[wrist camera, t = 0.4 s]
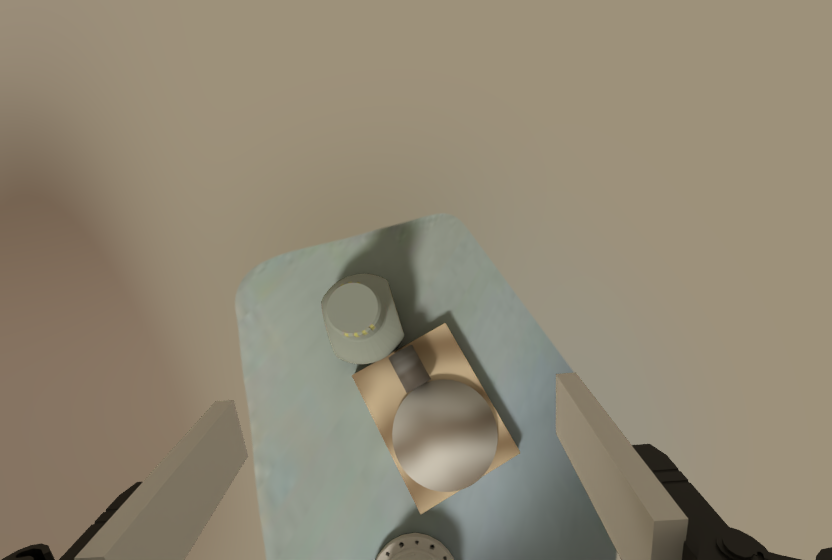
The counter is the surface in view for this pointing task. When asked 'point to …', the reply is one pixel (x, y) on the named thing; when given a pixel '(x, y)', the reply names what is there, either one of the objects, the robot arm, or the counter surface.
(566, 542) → the counter surface
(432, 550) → the mechanical component
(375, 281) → the grey rounded piece
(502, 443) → the flange board
